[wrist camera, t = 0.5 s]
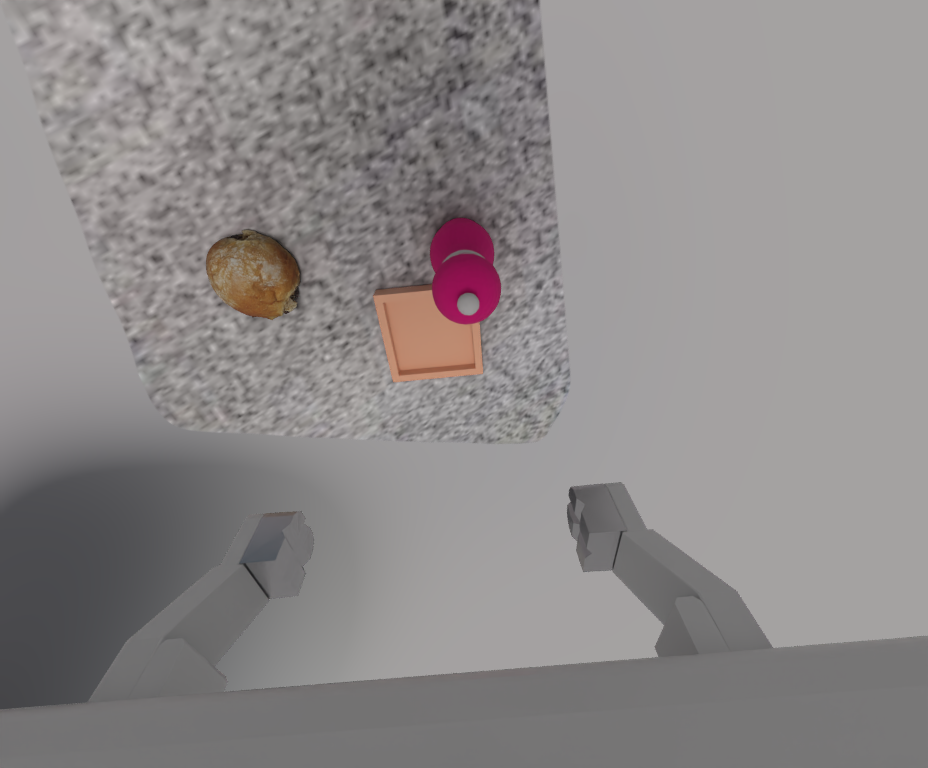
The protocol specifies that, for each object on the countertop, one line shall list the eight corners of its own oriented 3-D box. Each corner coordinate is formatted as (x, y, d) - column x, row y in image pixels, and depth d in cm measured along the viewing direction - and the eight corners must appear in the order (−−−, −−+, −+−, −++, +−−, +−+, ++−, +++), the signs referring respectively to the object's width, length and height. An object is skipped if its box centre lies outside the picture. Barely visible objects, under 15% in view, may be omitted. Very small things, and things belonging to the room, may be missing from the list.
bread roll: (295, 229, 47) (256, 210, 39) (320, 308, 49) (287, 306, 41) (226, 251, 48) (174, 237, 41) (252, 328, 50) (207, 329, 42)
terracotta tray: (375, 289, 48) (373, 295, 46) (475, 279, 48) (476, 285, 46) (394, 374, 56) (393, 382, 54) (481, 365, 55) (483, 373, 53)
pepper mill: (489, 210, 43) (515, 257, 27) (491, 271, 48) (515, 345, 31) (427, 215, 44) (415, 266, 27) (435, 276, 48) (428, 353, 31)
